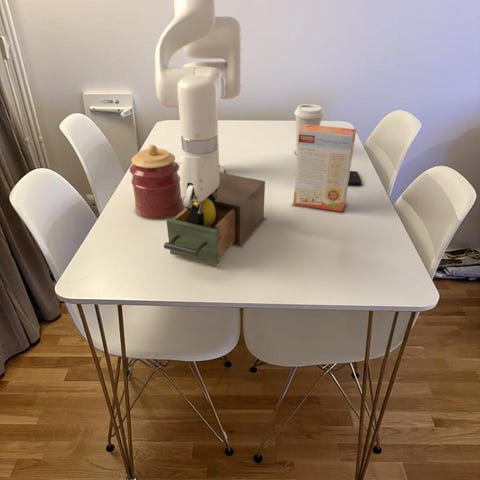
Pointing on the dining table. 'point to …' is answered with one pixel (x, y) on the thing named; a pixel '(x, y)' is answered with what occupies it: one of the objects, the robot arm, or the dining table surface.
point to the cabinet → (242, 202)
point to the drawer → (202, 236)
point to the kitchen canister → (156, 183)
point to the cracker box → (323, 166)
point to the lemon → (208, 212)
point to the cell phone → (354, 178)
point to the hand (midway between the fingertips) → (204, 220)
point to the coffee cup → (307, 117)
